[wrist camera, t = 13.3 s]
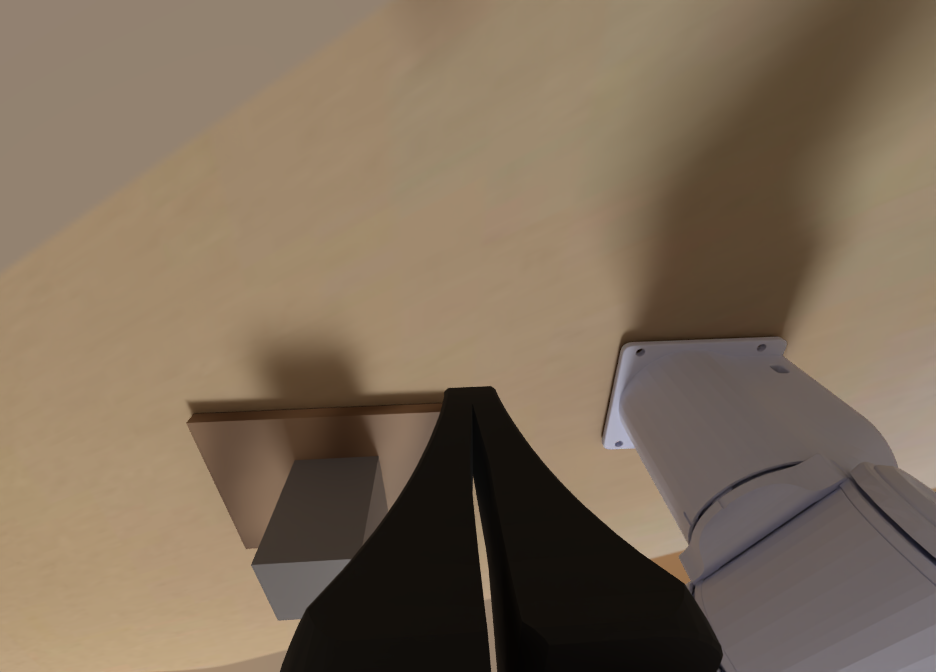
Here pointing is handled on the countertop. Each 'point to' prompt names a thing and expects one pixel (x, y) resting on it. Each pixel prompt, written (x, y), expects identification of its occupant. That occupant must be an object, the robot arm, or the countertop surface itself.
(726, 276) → the countertop surface
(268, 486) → the flat brown plate
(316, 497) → the gray rectangular prism
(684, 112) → the countertop surface
